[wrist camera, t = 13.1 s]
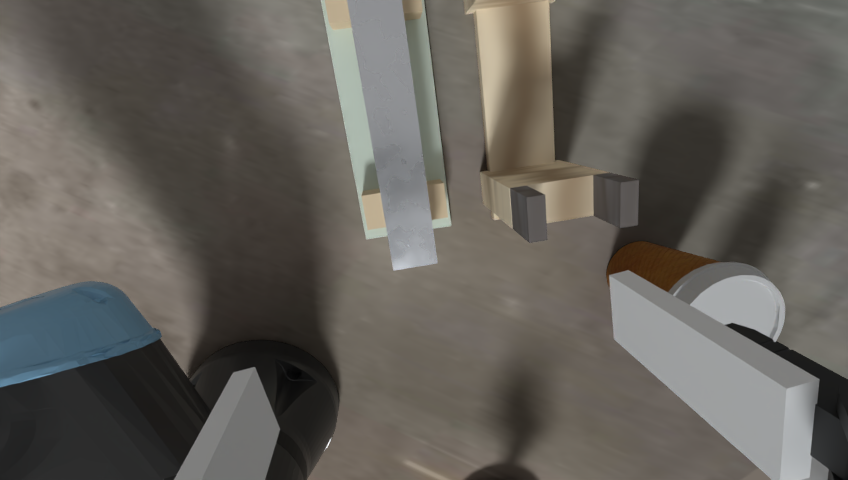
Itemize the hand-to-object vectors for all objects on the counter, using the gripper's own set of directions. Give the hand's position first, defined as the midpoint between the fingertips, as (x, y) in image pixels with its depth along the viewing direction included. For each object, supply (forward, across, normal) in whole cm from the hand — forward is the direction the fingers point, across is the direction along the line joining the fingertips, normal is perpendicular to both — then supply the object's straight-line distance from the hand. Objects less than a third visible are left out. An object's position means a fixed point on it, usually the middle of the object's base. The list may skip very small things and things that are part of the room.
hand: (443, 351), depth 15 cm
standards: (+23, +12, +8) cm, 28 cm away
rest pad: (+24, +1, +9) cm, 25 cm away
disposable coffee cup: (+23, +22, -12) cm, 34 cm away
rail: (+21, +1, +9) cm, 23 cm away
